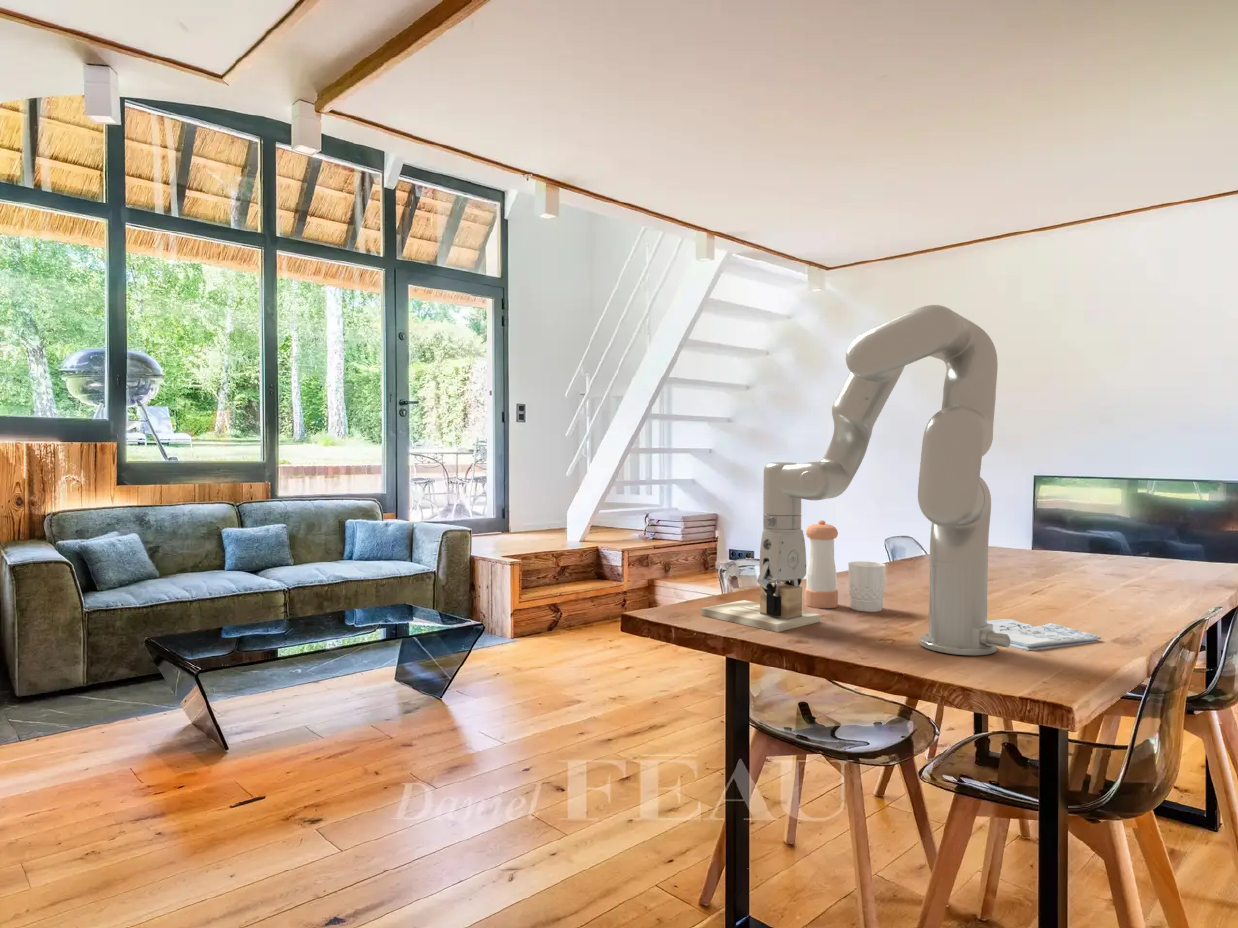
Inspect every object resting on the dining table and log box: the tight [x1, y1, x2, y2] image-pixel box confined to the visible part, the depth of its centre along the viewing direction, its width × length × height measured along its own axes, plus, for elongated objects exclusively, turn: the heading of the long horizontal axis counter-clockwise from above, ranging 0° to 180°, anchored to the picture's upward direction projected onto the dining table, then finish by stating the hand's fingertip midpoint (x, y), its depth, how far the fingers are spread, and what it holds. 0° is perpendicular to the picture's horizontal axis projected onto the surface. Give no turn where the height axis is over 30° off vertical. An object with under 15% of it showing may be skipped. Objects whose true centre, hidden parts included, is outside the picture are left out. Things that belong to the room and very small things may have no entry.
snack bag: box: [987, 618, 1102, 652], centre depth 150 cm, size 19×20×2 cm
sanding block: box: [759, 583, 803, 620], centre depth 159 cm, size 7×4×6 cm, turn 41°
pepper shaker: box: [804, 520, 839, 609], centre depth 177 cm, size 7×7×19 cm
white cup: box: [847, 560, 887, 613], centre depth 173 cm, size 8×8×10 cm
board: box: [700, 599, 821, 633], centre depth 163 cm, size 20×14×2 cm
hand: (781, 612), depth 158 cm, fingers closed on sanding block, 4 cm apart
